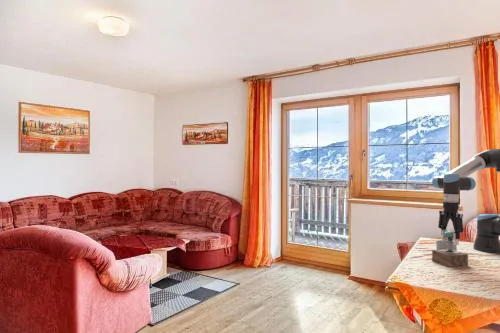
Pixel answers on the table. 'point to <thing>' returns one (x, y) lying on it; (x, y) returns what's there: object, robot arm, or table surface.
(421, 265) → the table surface
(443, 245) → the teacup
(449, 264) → the block
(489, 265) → the table surface
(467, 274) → the table surface
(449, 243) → the teal rounded knob
